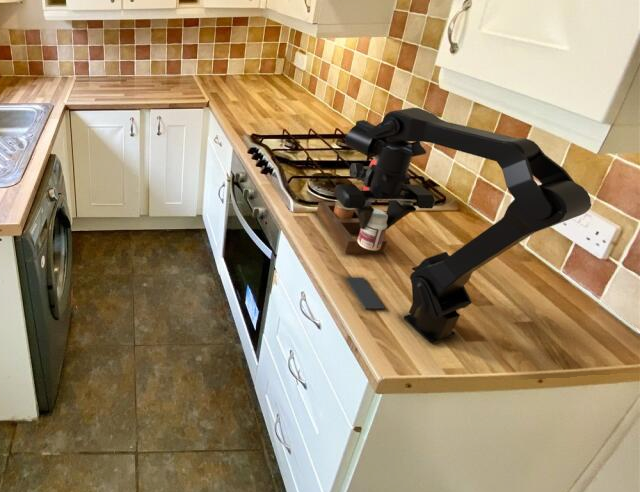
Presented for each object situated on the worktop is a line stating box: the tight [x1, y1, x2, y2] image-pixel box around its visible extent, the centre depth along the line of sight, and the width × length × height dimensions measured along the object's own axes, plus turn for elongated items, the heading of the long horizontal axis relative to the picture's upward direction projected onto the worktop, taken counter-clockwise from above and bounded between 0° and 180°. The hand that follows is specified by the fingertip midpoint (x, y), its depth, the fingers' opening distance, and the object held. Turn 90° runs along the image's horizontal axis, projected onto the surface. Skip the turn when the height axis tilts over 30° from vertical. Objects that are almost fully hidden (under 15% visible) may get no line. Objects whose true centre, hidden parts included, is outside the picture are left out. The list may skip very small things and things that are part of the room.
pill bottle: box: [357, 208, 388, 250], centre depth 92 cm, size 5×5×8 cm
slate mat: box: [345, 277, 386, 311], centre depth 91 cm, size 9×4×1 cm, turn 179°
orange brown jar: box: [333, 199, 355, 218], centre depth 113 cm, size 5×5×6 cm
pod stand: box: [315, 201, 388, 255], centre depth 110 cm, size 10×17×4 cm, turn 0°
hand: (373, 228), depth 92 cm, fingers closed on pill bottle, 5 cm apart
